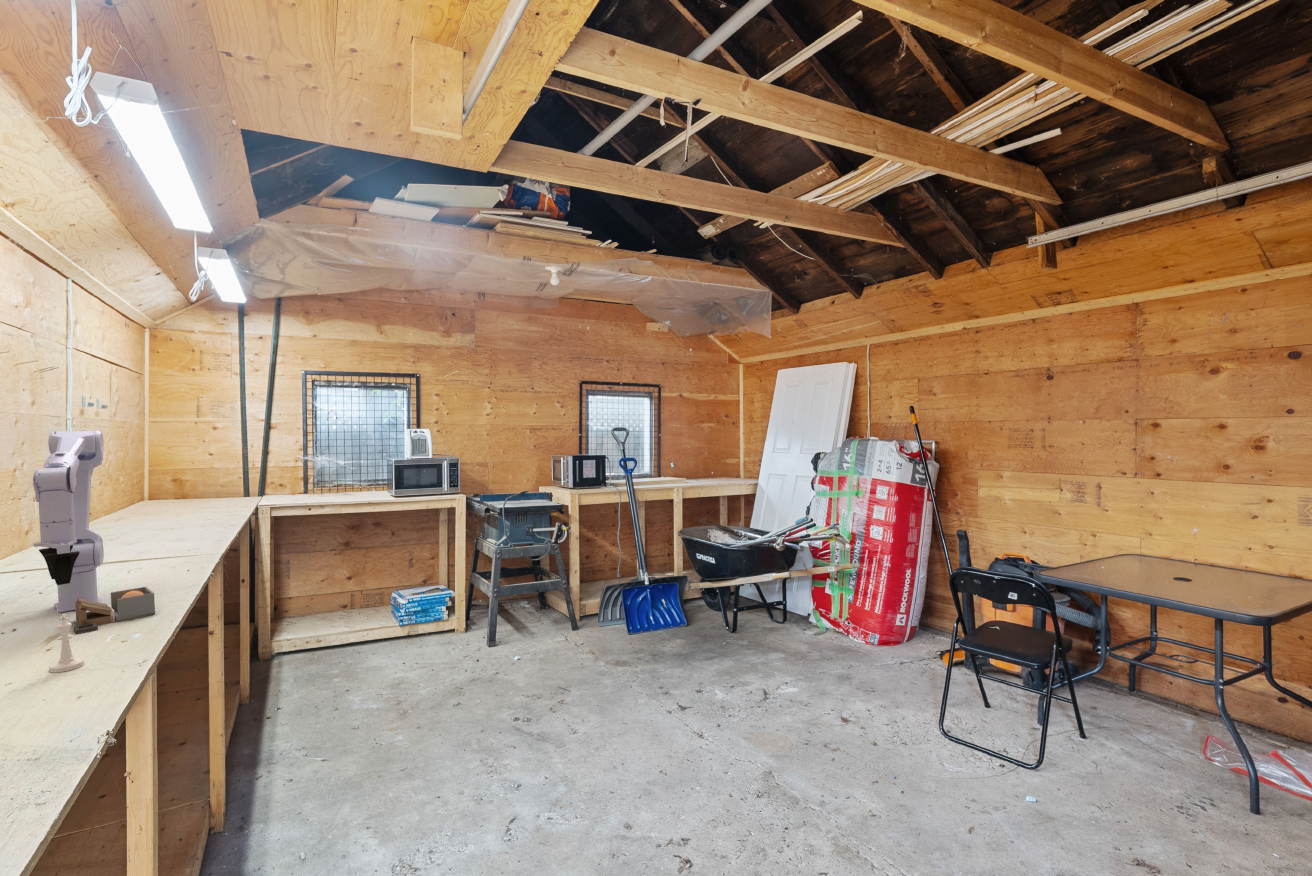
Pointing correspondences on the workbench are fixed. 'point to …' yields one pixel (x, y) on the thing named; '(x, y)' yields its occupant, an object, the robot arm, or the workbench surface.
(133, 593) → the ball
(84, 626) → the dark gray picture frame
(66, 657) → the chess piece
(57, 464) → the robot arm
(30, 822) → the workbench surface
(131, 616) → the gray open storage bin
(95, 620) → the ramp
